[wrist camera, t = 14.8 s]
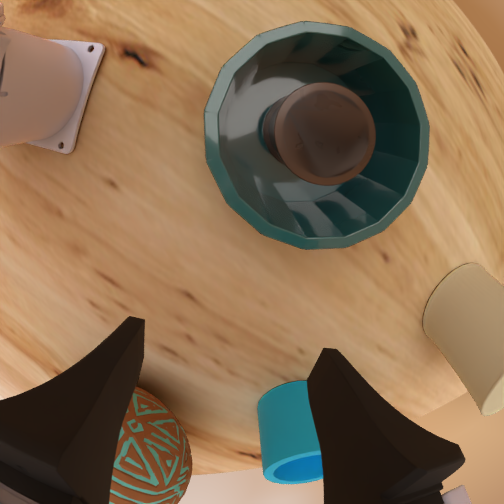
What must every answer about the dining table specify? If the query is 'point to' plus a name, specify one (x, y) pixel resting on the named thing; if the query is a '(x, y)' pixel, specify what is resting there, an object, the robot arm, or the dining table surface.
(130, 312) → the dining table surface
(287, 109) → the spool
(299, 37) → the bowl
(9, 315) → the dining table surface
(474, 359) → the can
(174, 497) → the decorative sphere
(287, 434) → the mug
